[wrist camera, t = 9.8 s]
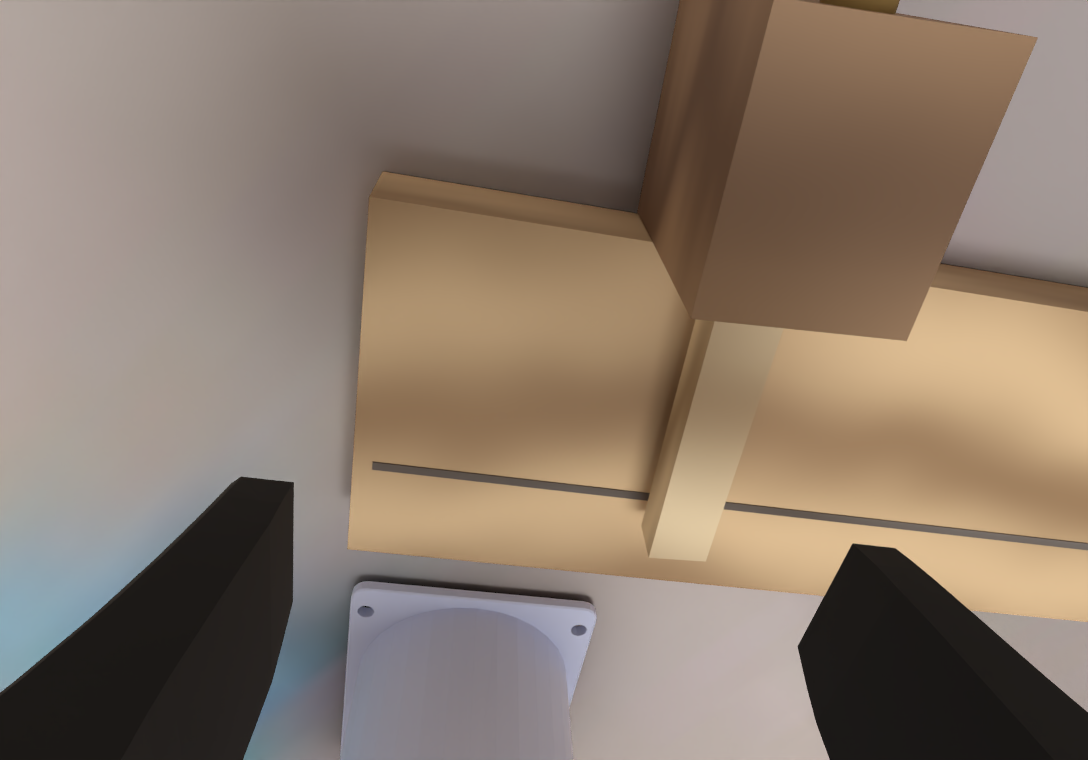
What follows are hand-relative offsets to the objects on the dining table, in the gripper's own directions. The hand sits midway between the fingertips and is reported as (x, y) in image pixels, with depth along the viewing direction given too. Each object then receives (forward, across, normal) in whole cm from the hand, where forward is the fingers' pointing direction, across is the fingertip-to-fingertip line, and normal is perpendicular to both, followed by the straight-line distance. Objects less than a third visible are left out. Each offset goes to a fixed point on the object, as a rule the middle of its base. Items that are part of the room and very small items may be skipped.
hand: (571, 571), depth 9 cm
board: (+10, -8, +3) cm, 14 cm away
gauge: (+10, -4, -1) cm, 11 cm away
